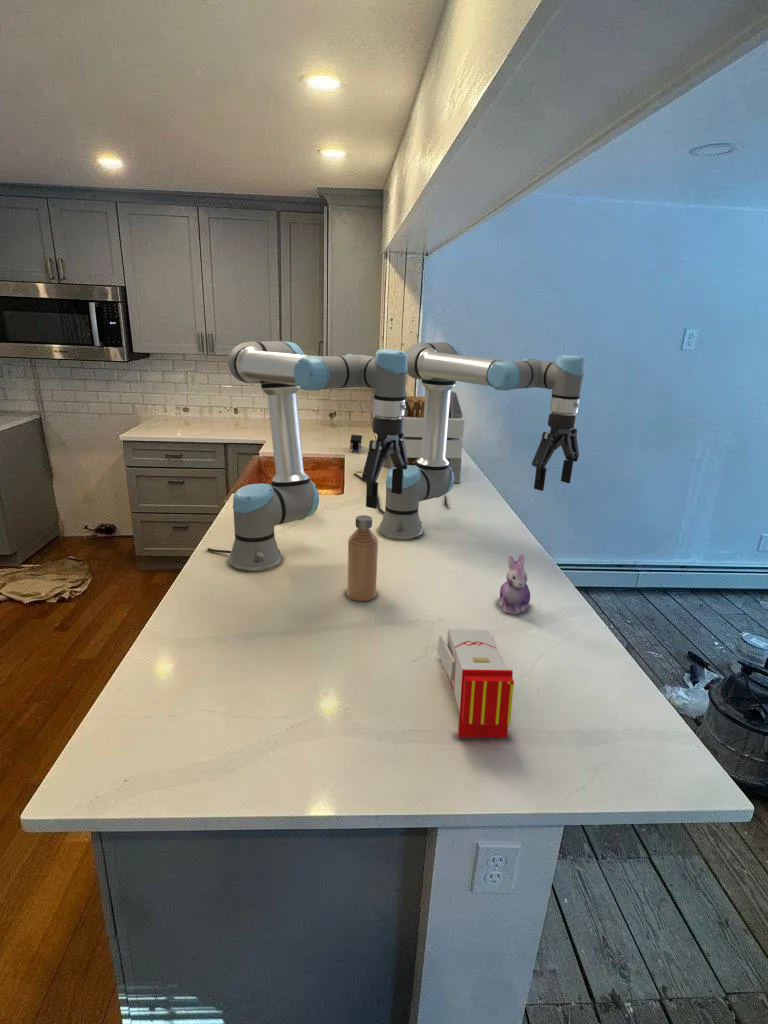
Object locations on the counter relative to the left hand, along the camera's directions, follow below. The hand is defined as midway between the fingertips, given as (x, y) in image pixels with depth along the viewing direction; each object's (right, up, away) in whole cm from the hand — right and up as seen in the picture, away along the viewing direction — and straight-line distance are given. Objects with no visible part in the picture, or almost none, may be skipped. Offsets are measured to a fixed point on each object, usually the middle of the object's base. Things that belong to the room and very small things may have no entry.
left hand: (384, 500), depth 144 cm
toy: (+18, -41, -25) cm, 51 cm away
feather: (+26, +3, +97) cm, 100 cm away
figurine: (+35, -29, +10) cm, 46 cm away
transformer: (+17, +16, +131) cm, 133 cm away
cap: (-5, -5, +6) cm, 9 cm away
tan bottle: (-6, -26, +13) cm, 30 cm away
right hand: (+49, +5, +22) cm, 54 cm away
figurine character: (-16, +31, +169) cm, 172 cm away
